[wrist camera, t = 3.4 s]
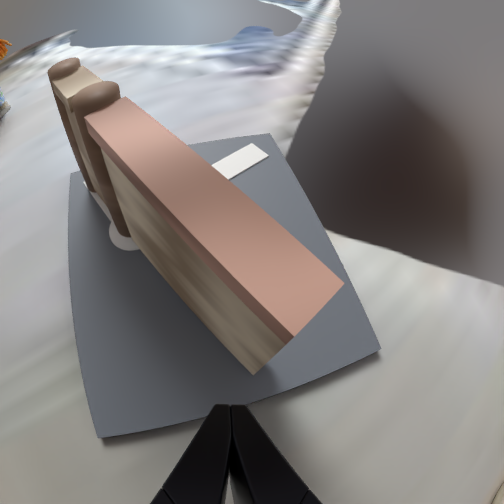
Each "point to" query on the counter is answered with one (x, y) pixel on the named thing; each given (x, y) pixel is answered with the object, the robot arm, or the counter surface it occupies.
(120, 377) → the board
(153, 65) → the counter surface
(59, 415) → the counter surface
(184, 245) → the fence gate
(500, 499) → the stacking toy
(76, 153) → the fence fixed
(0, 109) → the doll family
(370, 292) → the counter surface
